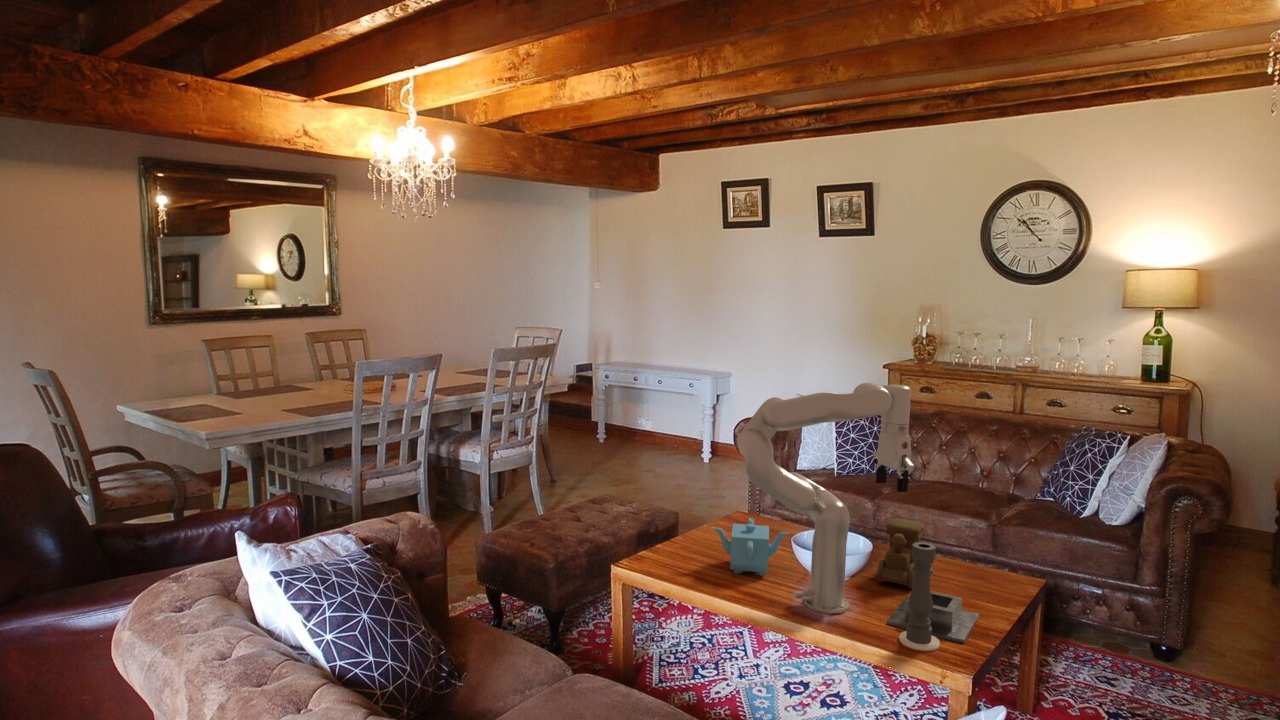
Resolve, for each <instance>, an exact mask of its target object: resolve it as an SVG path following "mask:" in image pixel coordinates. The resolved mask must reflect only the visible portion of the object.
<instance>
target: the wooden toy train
mask: <svg viewBox="0 0 1280 720" xmlns="http://www.w3.org/2000/svg"><path fill="white" fill-rule="evenodd" d="M886 525H887V526H886V535H888V536H889V541H888V542H889V548H888V550H887V551H886V552H885V555H884V559H881V560H879V562H878V566H877V572H876V578H877V581H878V582H879V583H880V584H882V583H884V582H885V581H886V582H889V583H894V584H900V585H905V586H907V587H908V589H911V590H912V588H913V585H914V576H915V573H914V571H913V570H912V567H913V566H914V565H915V564H914V561H913V557H912V546H913V543H916V542H920V538H921V537H922V536H923V534H924V533H923V532H924V523H923V522H919V521H915V520H910V519H909V520H908V519H905V518H904V519H903V518H892V519H890V520H889V521H888V522H887V524H886Z"/></svg>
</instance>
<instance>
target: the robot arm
mask: <svg viewBox="0 0 1280 720" xmlns="http://www.w3.org/2000/svg"><path fill="white" fill-rule="evenodd" d="M911 397H912V390H911V388H910V387H909V386H907V385H905V384H887V385H886V384H877V383H874V382H873V383H872V382H863V383H861V384H858V385H857V386H855V388H854V389H853V391H852V393H851V392H850V393H833V392H832V393H831V392H816V393H812V394H807V395H802V396H798V397H793V398H787V399H782V398H780V397H776V396H775V397H774V396H773V397H770V398H768V399H766V400H765V401H764V402H763V403H762V404H761V405H760V406H759V408H758V409H757V410H756V411H755V413H754V414H753V416H752V417H751V418H750V420H748V422H747V423H746V425H745V426H744V427H743V429H742V430H741V432H740V434H739V435H738V437H737V443H736V444H737V448H738V451H739V452H740V454H741V455H742V456H743V457H744V469H745V473H746V475H747V478H748V480H750V483H752V484H753V485H754V486H755V487H756V488H757V489H759V490H761V491H762V492H764V493H765V494H767V495H768V496H770V497H771V498H773V499H774V500H775V501H778V502H779V503H781V504H783V505H784V506H786V507H787V508H788V509H789V510H791V511H793V512H797V513H802V514H804V515H805V516H807V517H809V518H810V519H811V520H812V521H813V522H814V531H813V536H812V543H811V565H810V566H811V567H810V568H811V569H810V586H806V589H805V590H803V591H798V590H797V591H794V592H793V598H794V599H800V601H802V602H803V601H804V605H805V606H806V607H807V608H809V609H810V610H813V611H815V612H819V613H823V614H835V615H836V614H841V613H844V612H847V611H848V610H849V608H850V603H849V601H848V600H847V599H846V598H845V585H846V584H845V581H846V564H847V563H846V560H847V559H846V558H847V543H848V534H849V530H850V525H851V524H850V523H851V516H850V512H849V510H848V508H847V506H846V505H845V503H844V502H843V501H841V500H840V499H839V498H838V497H837V496H836V495H834V494H833V493H832V492H830V491H829V490H827V489H825V488H824V487H822V486H821V485H819V484H817V483H816V482H814V481H812V480H811V479H808V478H807V477H806V476H804V475H802V474H801V473H798V472H794V471H791V472H790V471H787V470H786V469H785V468H783V467H781V466H779V465H778V464H776V462H775V460H774V447H773V444H772V441H771V439H772V438H773V437H774V435H775V434H776V433H777V432H785V431H791V430H795V429H796V430H797V429H800V428H805V427H809V426H814V425H819V424H823V423H836V422H845V421H855V420H863V419H867V418H871V417H877V416H879V415H881V420H880V423H881V424H880V433H879V438H878V444H877V450H875V451H873V452H872V455H873V459H874V461H873V462H874V464H875V466H874V467H875V471H876V472H875V473H876V476H875V483H876V484H886V483H887V476H888V475H887V474H888V469H887V468H889V469H892V470H894V471H896V473H897V475H898V477H897V480H896V492H897V493H906V492H907V493H908V491H909V490H908V489H909V479H910V478H911V475H912V474H913V471H914V468H915V464H914V463H913V462H912V443H911V436H910V435H909V432H910V431H909V430H910V428H909V427H910V415H911V413H910V412H911V399H912V398H911Z"/></svg>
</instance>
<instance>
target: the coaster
mask: <svg viewBox="0 0 1280 720" xmlns="http://www.w3.org/2000/svg"><path fill="white" fill-rule="evenodd" d="M906 632H907V630H905V631H902V632H900V634H899V636H898V640H899V642H900V643H901V644H902V645H903V646H904V647H907V648H908V649H911V650H915V651H919V652H920V651H921V652H932V651H933V652H934V651H936V650H938V649H939V648H940V647H939V646H941V641H940V640H939V639H938V638H939V637H936V636H933V635H932V636H931V642H930V643H928V644H917V643H913V642H911V641H909V640H908V639H907V638H906Z"/></svg>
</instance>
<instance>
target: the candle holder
mask: <svg viewBox="0 0 1280 720" xmlns="http://www.w3.org/2000/svg"><path fill="white" fill-rule="evenodd" d="M936 550H937V549H936V545H934V544H933V543H928V542H920V541H919V542H916V543H913V546H912V557H913V561H914V564H915V565H914V566H913V567H912V570H913V571H914V573H915V576H914V585H913V588H911V592H910V595H909V596H908V597H909V601H908V605H909V608H910V610H911V614H912V615H911V616H910V617H909V618H908V622H909V623H908V624H907V629H906V631H907V632H906V638H907V639H908V640H909V641H911V642H913V643H917V644H928V643H930V642H931V636H932V627H931V626H930V625H931V621H930V620H929V618H928V616H929V613H930V612H931V611H932V609H933V602H932V596H931V591H932V590H931V575H932V574H933V573H934V569H933V564H934V563H935V562H934V561H935V560H936V554H937V553H936Z"/></svg>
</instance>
